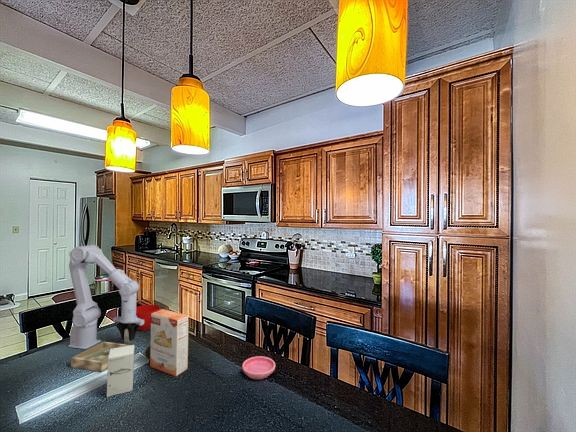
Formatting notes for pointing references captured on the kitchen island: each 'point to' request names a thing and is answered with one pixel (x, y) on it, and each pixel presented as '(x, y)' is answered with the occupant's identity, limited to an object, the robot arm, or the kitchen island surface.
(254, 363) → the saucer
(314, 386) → the kitchen island surface
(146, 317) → the red bowl
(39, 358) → the kitchen island surface
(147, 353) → the bolt
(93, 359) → the open box
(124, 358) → the supplement box
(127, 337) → the peg
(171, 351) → the cracker box
